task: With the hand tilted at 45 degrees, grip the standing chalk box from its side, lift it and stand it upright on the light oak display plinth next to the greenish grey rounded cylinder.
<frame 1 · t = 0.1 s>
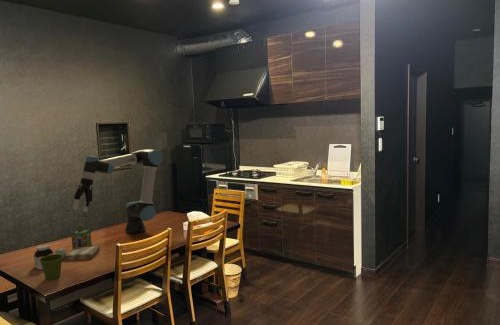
hand: (79, 210, 248), 28 cm above the table, tool tilted 20°, fingers open, 13 cm apart
grey rounded cylinder: (61, 258, 238), on the table
chalk box: (82, 248, 258), on the table
spread jar: (44, 266, 226), on the table
plant pot: (53, 277, 208), on the table
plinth: (83, 255, 243), on the table
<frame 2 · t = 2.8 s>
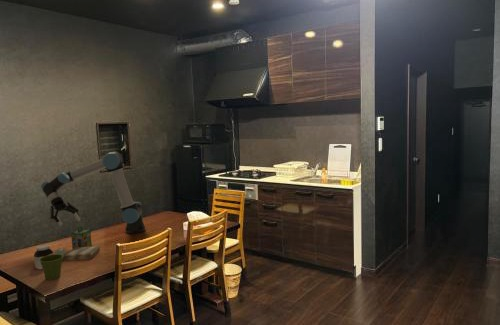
hand: (70, 222, 262), 17 cm above the table, tool tilted 45°, fingers open, 13 cm apart
nothing on the table moved.
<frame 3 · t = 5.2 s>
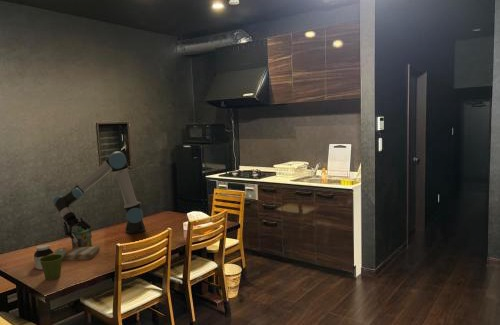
hand: (84, 239, 256), 6 cm above the table, tool tilted 45°, fingers closed on chalk box, 11 cm apart
chalk box: (82, 248, 258), on the table, touching gripper
everything else where it was.
when the fingers open (11 cm above the table, at t = 9.8 s): chalk box drops 1 cm, resting on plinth.
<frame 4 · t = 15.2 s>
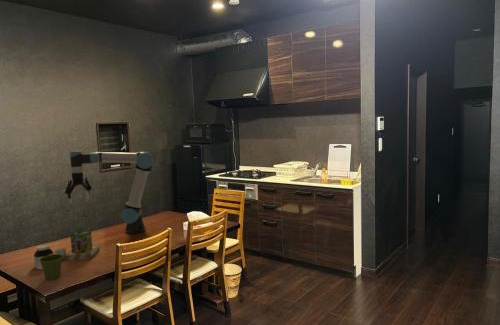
hand: (79, 201, 276), 29 cm above the table, tool pointing down, fingers open, 13 cm apart
chalk box: (82, 250, 242), point 3 cm above the table, touching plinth
everything else where it was.
at the end: chalk box inside the target area on the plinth (0.2 cm from its centre), point 3.0 cm above the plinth's base; chalk box tilted 0°; the gripper is holding nothing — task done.
